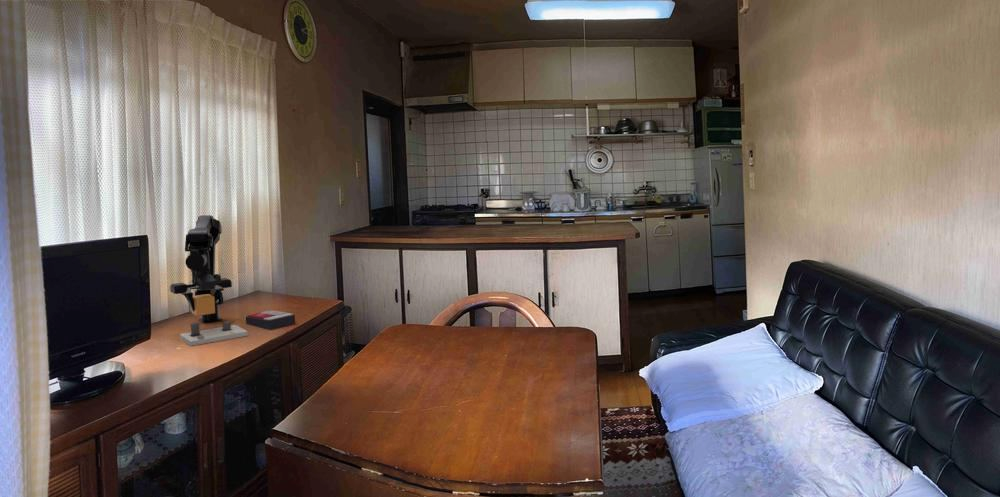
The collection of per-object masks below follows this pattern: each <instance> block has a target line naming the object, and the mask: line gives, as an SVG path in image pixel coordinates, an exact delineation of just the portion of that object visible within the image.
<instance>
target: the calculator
mask: <svg viewBox="0 0 1000 497" xmlns="http://www.w3.org/2000/svg"><path fill="white" fill-rule="evenodd" d="M245 324H246V325H249V326H253V327H257V326H258V327H257V328H263V329H266V330H269V331H271V330H274V329H278V328H279V329H280V328H282V327H288V326H291V325H295V324H296V314H294V313H288V312H285V311H278V310H271V309H270V310H267V311H261V312H257V313H252V314H248V315H246V316H245Z"/></svg>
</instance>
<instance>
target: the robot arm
mask: <svg viewBox="0 0 1000 497" xmlns="http://www.w3.org/2000/svg"><path fill="white" fill-rule="evenodd" d="M222 228H223V227H222V224H221V221H220V220H218V219H217V218H215V217H214V216H213V215H211V214H210V215H209V214H208V215H205V214H204V215H198V216H197V221H196V222H195V227H194V228H191V229H189V230H188V232H187V234H185V241H184V252H186V253H187V252H189V254H188V256H187V257H186V258H185V265H186V267H187V268H188V269H189V270H190V272H191V284H189V283H188V284H186V283H184V282H179V283H178V282H177V283H176V282H175V283H171V284H170V288H169V289H170V292H171V293H172V294H174V295H179V294H180V295H182V296H184V297H185V299H186V300H187V303H188V305H189V307H190V308H191V309H192V311H194V301H193V296H197V295H205V294H210V295H212V296H214V301H215V313H212V314H206V315H201V318H200V317H199V318H198V320H199V321H200V322H202V323H204V324H205V323H206V324H207V323H213V322H218V321H222V320H223V318H222V317H219V315H220V314H219V306H221V305H223V304H224V302H225V301H224V295H223V292H222V291H224V290H225V289H228V288H232V287H233V284H232V283H233V282H232V280H231V279H229V278H227V277H222V276H221V274H220V273H215V272H216V245H217V244H218V243H219V241H220V240H221V234H222V233H223V230H222ZM192 290H194V292H192ZM192 311H191V312H192Z"/></svg>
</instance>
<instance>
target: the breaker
mask: <svg viewBox="0 0 1000 497" xmlns="http://www.w3.org/2000/svg"><path fill="white" fill-rule="evenodd" d="M200 328H201V327H200V322H191V323H190V332H191V336H198V335H200V331H201V330H200Z"/></svg>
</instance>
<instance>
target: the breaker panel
mask: <svg viewBox="0 0 1000 497" xmlns="http://www.w3.org/2000/svg"><path fill="white" fill-rule="evenodd" d="M248 336H249V333H248V330H246V329H244V328H242V327H241V326H238V325H236V324H231V330H229V331H223V328H222V326H220V327H214V328H207V329H202V330H200V335H198V336H191V331H190V332H185V333H180V334H179V339H180V340H182V342H184V343H186V345H189V347H193V346H199V345H205V344H208V343H214V342H220V341H226V340H231V339H237V338H241V337H242V338H243V337H248Z"/></svg>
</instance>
